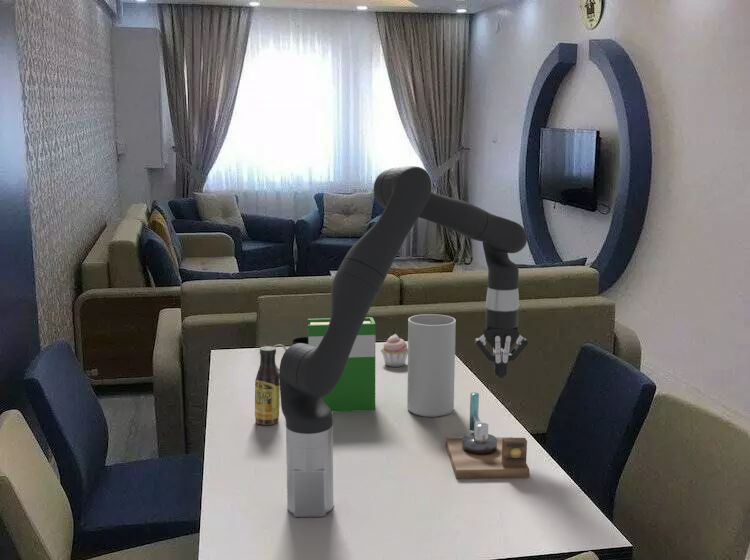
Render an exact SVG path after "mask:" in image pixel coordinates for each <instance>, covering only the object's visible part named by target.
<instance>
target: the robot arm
mask: <svg viewBox="0 0 750 560" xmlns="http://www.w3.org/2000/svg"><path fill="white" fill-rule="evenodd" d="M432 187H433V185H432V179H431V176H430V174H429V173H428V172H427V170H425V169H424V168H422V167H420V166H415V165H414V166H413V165H412V166H411V165H410V166H408V165H407V166H400V167H393V168H388V169H386V170H383V171H381V172H380V174H379V175H377V176H376V178H375V181H374V183H373V194H374V197H375V200H376V202H377V204H379V205H380V206H381V208H383V209H384V210H383V212H382V214H381V215H380V217H379V218H378V220H377V221H376V222H375V223H374V224H373V225H372V226H371V227H370V229H368V230H367V231H366V232H365V233H364V234H363V235H362V236H361V237H360V238H359V239H358V240H357V241H356V242H355V243H354V244H353V245H352V247H350V249H349V250H348V251H347V253H346V255H345V257H344V258H343V260H342V262H341V264H340V265H339V267H338V269H337V271H336V273H335V275H334V277H333V280H332V284H331V290H330V291H331V292H330V293H331V294H330V304H331V306H330V308H331V309H330V313H331V314H330V317H329V318H330V322H329V325H328V328H327V330H326V333H325V335H324V337H323V339H322V340H321V342H320V344H319V346H318V347H315V346H312V345H308V344H304V343H297V344H294V345H292V344H291V345H290V346H289V347H288V348H286V351H285V350H284V352H283V354H282V357H281V359H280V363H279V383H280V395H279V397H280V407H281V412H282V414H283V416H284V419H285V437H286V438H285V443H286V445H285V449H286V451H285V453H286V457H285V458H286V490H287V491H286V494H287V495H286V499H287V501H286V502H287V507H286V508H287V509H288V511H289V512H290V513H292V514H293V517H295V518H298V517H300V518H302V517H304V518H307V517H308V518H309V517H316V518H317V517H326V514H327V513H329V512H330V511H332V509H333V508H334V442H333V441H334V421H333V419H334V415H333V412H332V411H331V409H330V408H329V407H328V406H327V405H326V404H325V403H324V401H323V400H322V398H321V397H325V396H326V395H328V394H329V393H330V392H332V391H333V389H334V388H335V387H336V385H337V384H338V382H339V380H340V378H341V375H342V373H343V371H344V368H345V365H346V363H347V360H348V357H349V355H350V352H351V349H352V347H353V344H354V342H355V339H356V337H357V335H358V332H359V330H360V328H361V326H362V324H363V322H364V320H365V317H367V315H368V313H369V311H370V309H371V306H372V304H373V303H374V301H375V299H376V298H377V295H378V294H379V292H380V290H381V288H382V285H383V284H384V281H385V280H386V278H387V276H388V273H389V271H390V268H391V267H392V265H393V263H394V261H395V259H396V257H397V255H398V254H399V252H400V250H401V247H402V246H403V244H404V242H405V240H406V239H407V236H408V234H409V233H410V232H411V230H412V228H413V227H414V225H415V223H416V222H417V220H418V219H419V218H420V219H423V220H426V221H429V222H431V223H434V224H437V225H440V226H441V227H444V228H446V229H449V230H451V231H453V232H455V233H458V234H460V235H462V236H464V237H467V238H468V239H471V240H474V241H479V242H482V246H483V247H482V248H483V251H484V252H483V253H484V257H485V262H486V265H487V268H488V270H487V271H488V275H487V290H486V291H487V292H486V299H485V306H486V307H485V328H484V330H483V334H482V335H480V337H476V338H474V343H475V345H476V346H477V347H478V349H480V351H481V352H482V353H483V355H484V356H485V357H486V358H487V360H488V361H491V362H493V374H494V375H495V376H496V378H497V379H505V378H504V377H505V376H507V373H508V362H510V361H515V360H516V359H517V357H518V356H519V355H520V354H521V353H522V352H523V351H524V350H525V348H526V347H527V346H528V345H529V341H528V340H527V338H525V337H523V336H522V335H521V332H520V330H519V305H520V304H519V303H520V301H519V300H520V295H519V273H520V272H519V269H520V268H519V266H518V264H516V263H515V262H514V261H513V260H511V259H510V257H509V254H515V253H519V252H521V251H522V250H523V249H524V248H525V246H526V244H527V242H528V235H527V232H526V230H525V228H524V227H523V226H522V224H520V223H518V222H516V221H514V220H511V219H508V218H504V217H502V216H499V215H496V214H493V213H490V212H488V211H487V210H485V209H483V208H481V207H478V206H477V205H474V204H472V203H469V202H467V201H465V200H462V199H458V198H454V197H449V196H447V195H442V194H439V193H435V192H433V191H432V190H433V188H432ZM486 341H487V342H488V344H489V345H490V346H491V347H492V351H493V353H491V352H490V351H489V349H488V348H487V347H486V344H487V342H486ZM515 342H516V344H515ZM514 344H515V346H513V345H514ZM512 346H513V348H512V349H511V351H510V348H511V347H512Z"/></svg>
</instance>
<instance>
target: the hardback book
mask: <svg viewBox="0 0 750 560" xmlns="http://www.w3.org/2000/svg"><path fill="white" fill-rule="evenodd" d="M330 318H331V317H329V318H328V317H327V318H325V317H324V318H323V317H322V318H307V337H308V345H312V346H315V347H318V346H319V344H320V342H321V340H322V339H323V337H324V335H325V333H326V330H327V328H328V325H329V322H330ZM376 324H377V323H376V322H375V320H374V318H373V316H372V317H370V316H369V317H367V316H366V317H365V320H364V322H363V324H362V326H361V328H360V330H359V332H358V335H357V337H356V339H355V342H354V344H353V347H352V349H351V352H350V355H349V357H348V360H347V363H346V365H345V368H344V371H343V373H342V375H341V378H340V380H339V382H338V384H337V385H336V387H335V388H334V389H333V391H332V392H330V393H329V394H328V395H326V396H325V397H321V398H322V400H323V401H324V403H325V404H326V405H327V406H328V407H329V408H330V409H331V411H332V413H337V412H338V413H339V412H340V413H341V412H342V413H344V412H363V411H364V412H366V411H367V412H368V411H372V412H373V411H376V335H377V334H376V326H377V325H376Z"/></svg>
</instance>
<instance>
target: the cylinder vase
mask: <svg viewBox="0 0 750 560" xmlns="http://www.w3.org/2000/svg"><path fill="white" fill-rule="evenodd" d="M407 321H408V322H407V325H408V326H407V328H408V329H407V330H408V331H407V348H408V355H407V398H406V399H407V402H406V403H407V405H406V407H407V410H409V412H410V413H412V414H414V415H417V416H419V417H426V418H427V417H428V418H439V417H444V416H447V415H450V414H451V413H452V412H453V411H454V409H455V408H454V407H455V375H456V374H455V367H456V366H455V365H456V326H457V325H456V323H457V322H456V318H454V317H452V316H450V315H447V314H446V315H444V314H435V313H434V314H433V313H429V314H428V313H425V314H424V313H423V314H416V315H413V316H410V317H408V319H407Z"/></svg>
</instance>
